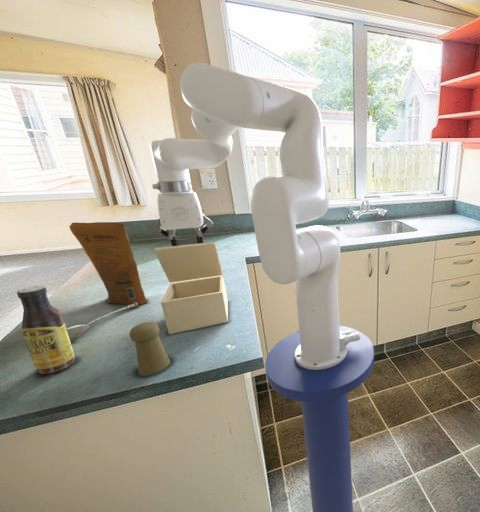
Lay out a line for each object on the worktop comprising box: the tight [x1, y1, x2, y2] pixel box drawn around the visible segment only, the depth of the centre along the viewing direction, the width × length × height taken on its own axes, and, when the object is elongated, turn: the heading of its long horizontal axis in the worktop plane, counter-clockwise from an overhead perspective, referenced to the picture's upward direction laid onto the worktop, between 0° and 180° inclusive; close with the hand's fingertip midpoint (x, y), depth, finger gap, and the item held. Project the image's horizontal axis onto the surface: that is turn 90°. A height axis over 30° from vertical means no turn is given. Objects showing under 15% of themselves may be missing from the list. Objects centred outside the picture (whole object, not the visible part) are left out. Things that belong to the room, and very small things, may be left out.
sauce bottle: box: [16, 284, 76, 375], centre depth 66 cm, size 6×6×20 cm
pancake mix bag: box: [68, 221, 148, 306], centre depth 96 cm, size 7×19×28 cm, turn 77°
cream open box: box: [160, 275, 229, 335], centre depth 90 cm, size 15×15×10 cm
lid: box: [153, 237, 224, 284], centre depth 90 cm, size 15×15×5 cm
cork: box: [129, 321, 171, 377], centre depth 67 cm, size 6×6×11 cm
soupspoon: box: [66, 303, 139, 343], centre depth 86 cm, size 22×3×7 cm
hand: (189, 249), depth 88 cm, fingers closed on lid, 5 cm apart
